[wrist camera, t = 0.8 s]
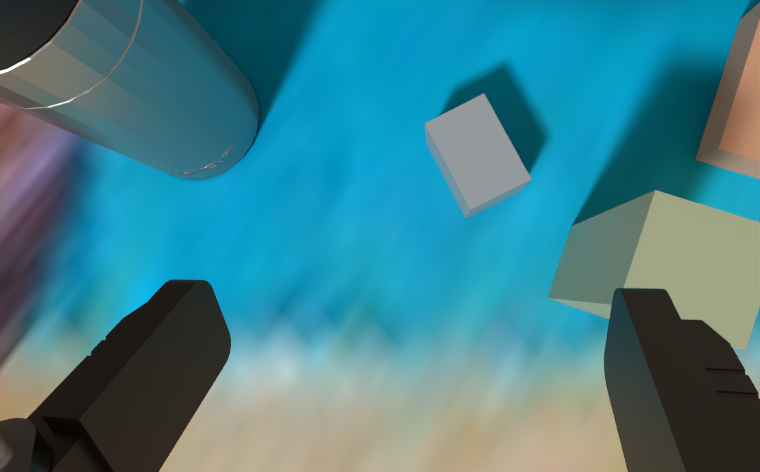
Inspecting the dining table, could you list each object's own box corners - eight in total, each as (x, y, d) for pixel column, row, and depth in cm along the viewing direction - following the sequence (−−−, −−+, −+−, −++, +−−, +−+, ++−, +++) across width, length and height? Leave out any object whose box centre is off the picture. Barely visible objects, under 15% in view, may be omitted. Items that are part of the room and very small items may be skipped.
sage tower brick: (547, 297, 31) (617, 305, 19) (571, 225, 32) (655, 189, 20) (624, 325, 31) (746, 350, 19) (648, 251, 31) (782, 229, 19)
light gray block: (425, 142, 33) (424, 123, 29) (477, 116, 33) (484, 93, 29) (465, 218, 33) (470, 209, 29) (519, 192, 32) (531, 179, 28)
